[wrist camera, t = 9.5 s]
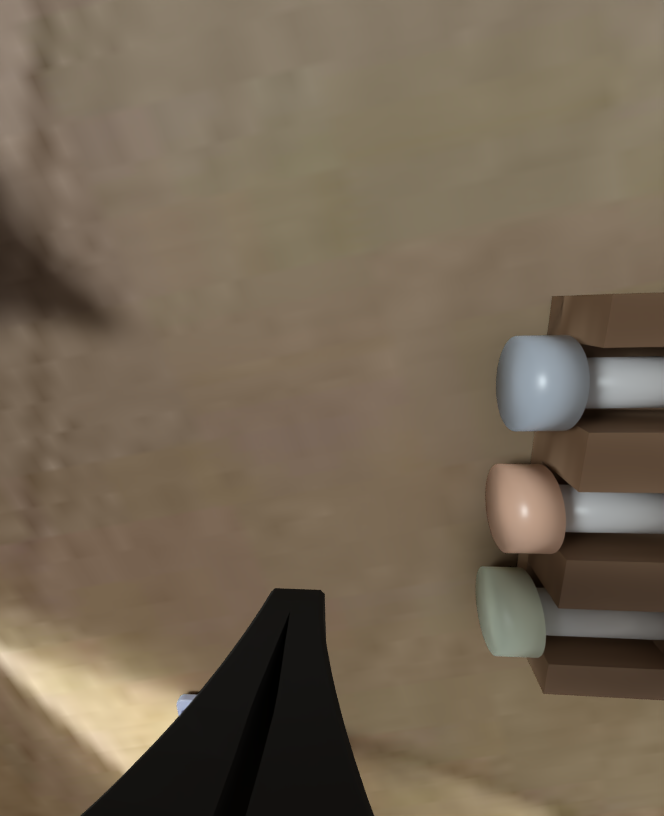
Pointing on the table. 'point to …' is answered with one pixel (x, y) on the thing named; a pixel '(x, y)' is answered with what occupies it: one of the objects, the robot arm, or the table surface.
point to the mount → (606, 473)
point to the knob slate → (569, 382)
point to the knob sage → (546, 616)
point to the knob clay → (559, 510)
